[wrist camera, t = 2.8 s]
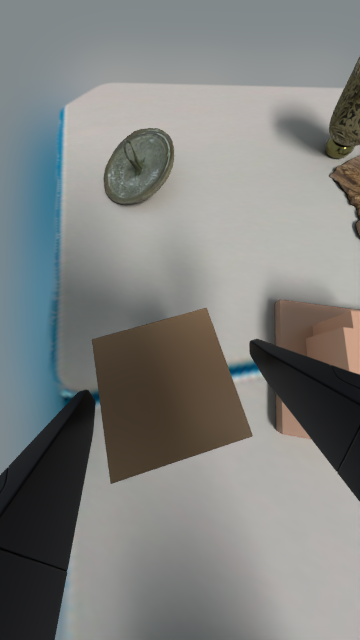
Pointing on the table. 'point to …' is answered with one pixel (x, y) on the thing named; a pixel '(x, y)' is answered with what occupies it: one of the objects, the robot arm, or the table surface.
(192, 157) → the table surface
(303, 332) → the terracotta holder
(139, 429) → the brown wooden block
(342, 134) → the cup
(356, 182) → the wooden fragment
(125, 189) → the lid
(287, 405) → the robot arm
